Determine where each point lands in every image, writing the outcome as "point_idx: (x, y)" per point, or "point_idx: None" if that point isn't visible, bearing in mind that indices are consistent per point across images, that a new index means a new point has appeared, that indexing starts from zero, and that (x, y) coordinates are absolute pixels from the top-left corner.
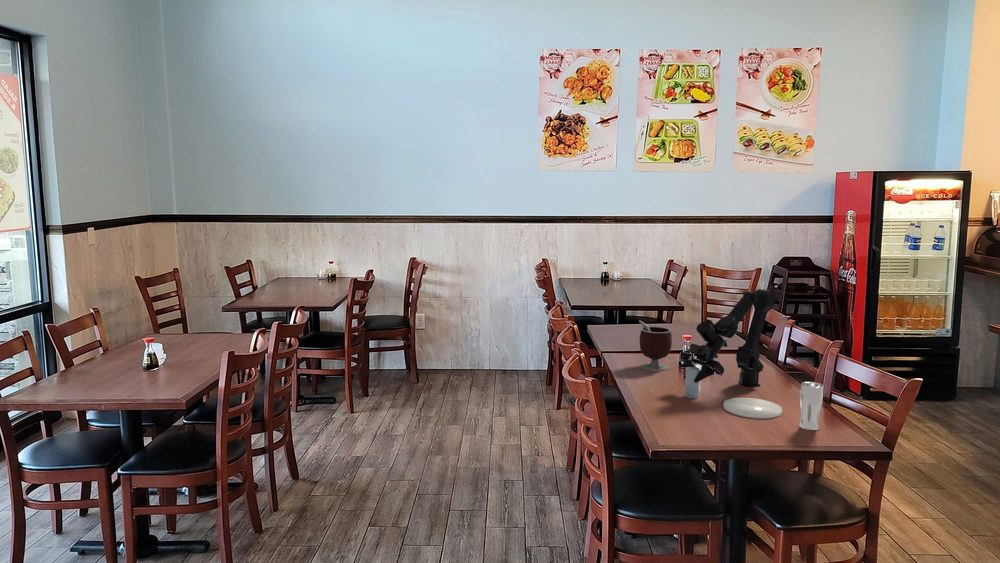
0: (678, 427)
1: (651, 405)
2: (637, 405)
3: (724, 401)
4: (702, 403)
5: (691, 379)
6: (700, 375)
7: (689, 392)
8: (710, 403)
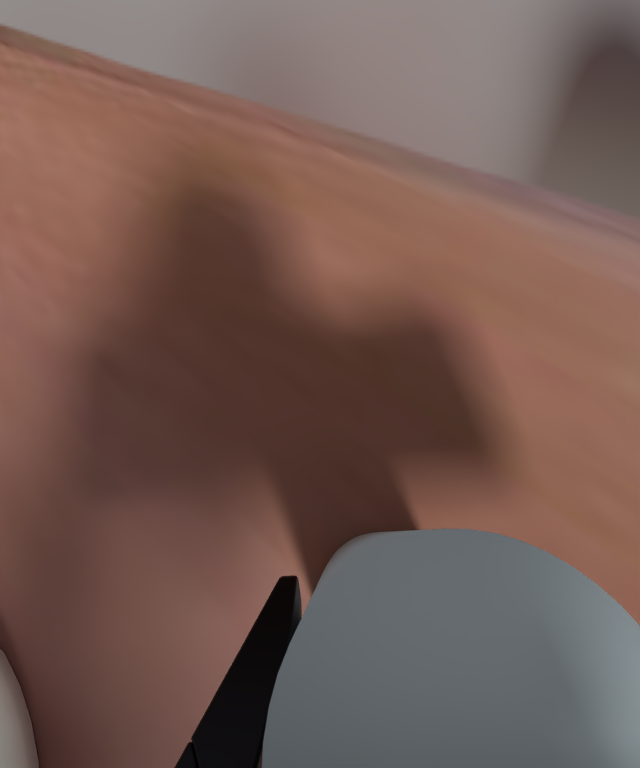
0: (18, 153)
1: (334, 210)
2: (368, 156)
3: (5, 750)
4: (184, 543)
5: (337, 559)
6: (204, 741)
7: (351, 541)
8: (142, 617)
